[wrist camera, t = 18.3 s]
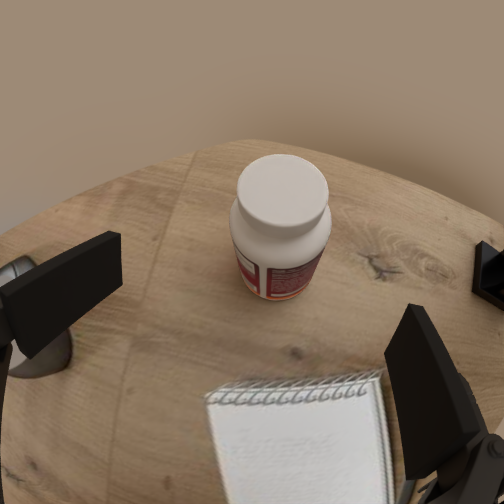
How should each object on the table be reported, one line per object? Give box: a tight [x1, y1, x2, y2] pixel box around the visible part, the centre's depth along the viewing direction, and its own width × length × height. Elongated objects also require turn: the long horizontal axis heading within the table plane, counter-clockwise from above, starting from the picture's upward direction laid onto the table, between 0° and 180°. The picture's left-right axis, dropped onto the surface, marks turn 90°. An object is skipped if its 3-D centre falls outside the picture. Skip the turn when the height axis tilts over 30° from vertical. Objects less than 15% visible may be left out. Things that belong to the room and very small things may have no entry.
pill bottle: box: [229, 154, 332, 300], centre depth 18 cm, size 6×6×11 cm
